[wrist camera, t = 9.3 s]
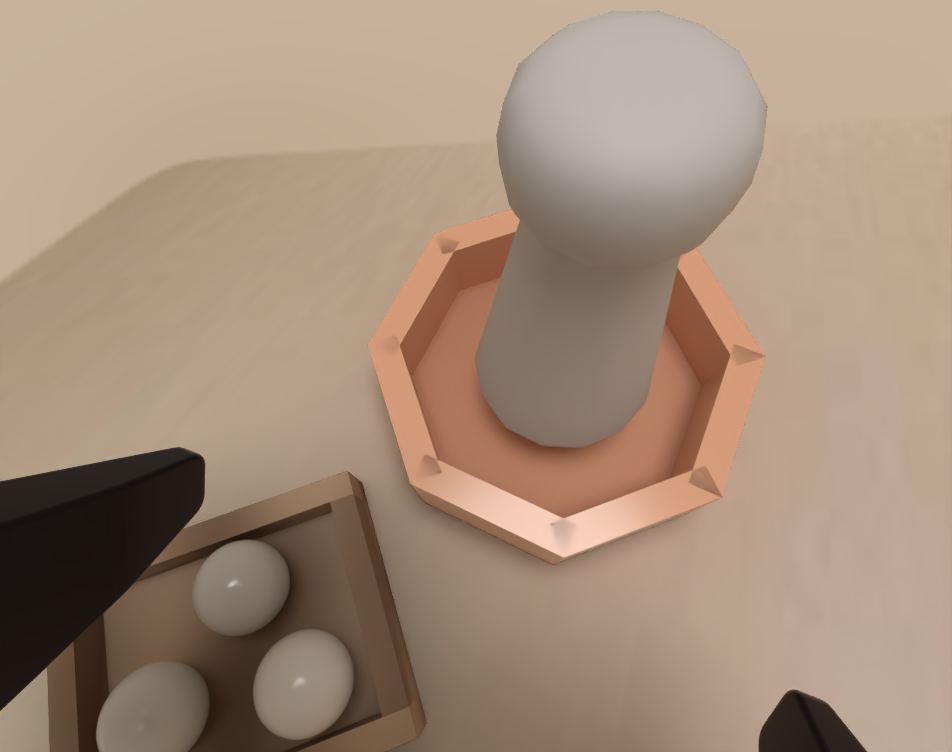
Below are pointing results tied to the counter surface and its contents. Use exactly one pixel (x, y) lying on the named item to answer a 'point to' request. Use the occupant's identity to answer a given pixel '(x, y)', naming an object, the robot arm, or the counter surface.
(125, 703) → the white ball
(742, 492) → the counter surface
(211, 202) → the counter surface
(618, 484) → the bowl
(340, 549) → the pebble tray
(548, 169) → the salt shaker
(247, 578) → the pebble
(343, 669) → the pebble
